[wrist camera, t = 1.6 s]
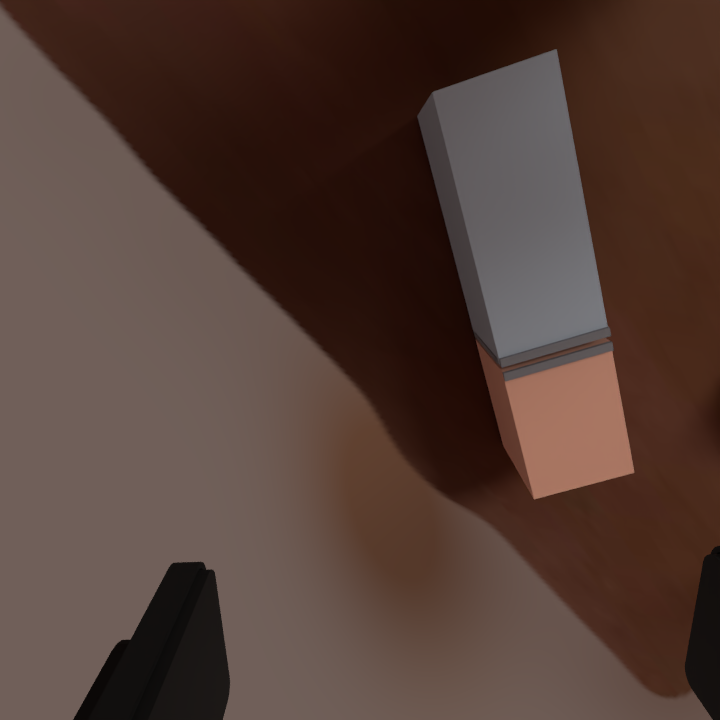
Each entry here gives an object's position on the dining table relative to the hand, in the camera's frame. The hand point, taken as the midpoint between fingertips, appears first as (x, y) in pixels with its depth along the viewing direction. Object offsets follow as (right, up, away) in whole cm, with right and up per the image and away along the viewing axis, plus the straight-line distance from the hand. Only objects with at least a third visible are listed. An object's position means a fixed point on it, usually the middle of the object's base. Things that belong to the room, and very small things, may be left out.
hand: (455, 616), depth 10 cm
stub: (+8, +4, +21) cm, 23 cm away
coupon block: (+5, +13, +18) cm, 23 cm away
